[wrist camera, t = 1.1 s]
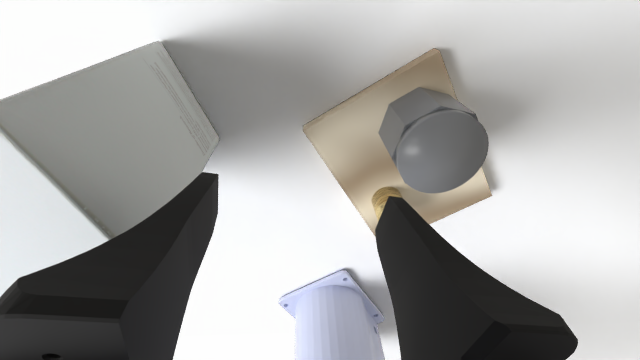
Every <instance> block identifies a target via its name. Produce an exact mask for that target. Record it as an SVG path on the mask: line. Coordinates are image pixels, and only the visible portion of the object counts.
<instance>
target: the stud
mask: <svg viewBox="0 0 640 360" xmlns="http://www.w3.org/2000/svg"><path fill="white" fill-rule="evenodd" d="M389 196H393V197H401V198H403V197H402V195H401V193H400V192H399V190H398V189H396V188H394V187H383V188H380V189H378V190H377V191H376V192H375V193H374V194H373V196H372V205H373V208H374V211H375V214H376V217H377V220H378V221H379V219H380V216H381V214H382V211H383V209H384V207H385V204H386V202H387V199H388V197H389Z"/></svg>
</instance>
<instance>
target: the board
mask: <svg viewBox="0 0 640 360" xmlns="http://www.w3.org/2000/svg"><path fill="white" fill-rule="evenodd" d="M418 87H422V88H426V89H430V90H434V91H438V92H442V93H445V94H449V95H450V96H452V97H453V98H454V99H456V100H457V97H456V95H455V92H454V89H453V86H452V84H451V81H450V78H449V75H448V73H447V70H446V67H445V64H444V61H443V59H442V56H441V53H440V51H439V50H437V49H434V48H433V49H432V50H430V51H428V52H427V53H425V54H423V55H421V56H420V57H418V58H416V59H415V60H413V61H411V62H410V63H408V64H406V65H405V66H403V67H401V68H400V69H398V70H396V71H395V72H393V73H391V74H390V75H388V76H386V77H384V78H383V79H381V80H379V81H378V82H376V83H374V84H373V85H371V86H369V87H368V88H366V89H364V90H363V91H361V92H359V93H358V94H356V95H354V96H353V97H351V98H349V99H347V100H346V101H344V102H342V103H341V104H339V105H337V106H336V107H334V108H332V109H331V110H329V111H327V112H326V113H324V114H322V115H321V116H319V117H317V118H316V119H314V120H312V121H310V122H309V123H307V124H305V125H304V126H303V132H304V133H305V135H306V136H307V138H308V139H309V140H310V142H311V143H312V145H313V146H314V148H315V149H316V151H317V152H318V154H319V155H320V157H321V158H322V159H323V161H324V162H325V164H326V165H327V167H328V168H329V170H330V171H331V173H332V174H333V175H334V177H335V178H336V180H337V181H338V183H339V184H340V186H341V187H342V189H343V190H344V192H345V193H346V194H347V196H348V197H349V199H350V200H351V202H352V203H353V205H354V206H355V208H356V209H357V210H358V212H359V213H360V215H361V216H362V218H363V219H364V221H365V222H366V224H367V225H368V227H369V228H370V229H371V231H372V232H373V234H374V235H375V237H376V234H375V229H376V226H377V224H378V220H377V217H376V214H375V211H374V208H373V205H372V196H373V194H374V193H375V192H376V191H377V190H378V189H380V188H383V187H394V188H396V189H398V190H399V192H400V193H401V195H402V197H403V199H404V200H405V201H406V202H407V203H408V204H409V205H410V206H411V207H412V208H413V209H414V210H415V211H416V212H417V213H418V214H419V215H420V216H421V217H422V218H423V219H424V220H425V221H426V222H427V223H428V224H431V223H433V222H435V221H438V220H440V219H442V218H444V217H446V216H449V215H451V214H453V213H455V212H457V211H460V210H462V209H464V208H466V207H468V206H471V205H473V204H475V203H477V202H479V201H482V200H484V199H486V198H488V197H490V196H492V194H491V191H490V188H489V186H488V183H487V180H486V177H485V175H484V172H483V169H482V166H481V168H480V169H479V170H478V172H477V173H476V174H475V175H474V176H473V177H472V178H471V179H470V180H468V181H467V182H466V183H464V184H463V185H461V186H459V187H457V188H455V189H453V190H450V191H447V192H442V193H424V192H420V191H417V190H415V189H413V188H411V187H410V186H409V185H407V184H405V182H404V180H403V179H402V177H401V175H400V173H399V171H398V169H397V167H396V166H395V164H394V162H393V160H392V158H391V156H390V154H389V153H388V151H387V149H386V147H385V145H384V143H383V141H382V139H381V137H380V135H379V134H378V132H379V129H380V127H381V124H382V121H383V119H384V116H385V113H386V111H387V108H388V105H389V104H390V103H391V102H393V101H395V100H397V99H398V98H400V97H402V96H404V95H405V94H407V93H409V92H411V91H412V90H414V89H416V88H418ZM457 101H458V100H457Z"/></svg>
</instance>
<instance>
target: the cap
mask: <svg viewBox="0 0 640 360" xmlns="http://www.w3.org/2000/svg"><path fill="white" fill-rule="evenodd" d="M378 134H379V135H380V137H381V139H382V141H383V143H384V145H385V147H386V149H387V151H388V153H389V154H390V156H391V158H392V160H393V162H394V164H395V166H396V167H397V169H398V171H399V173H400V175H401V177H402V179H403V180H404V182H405V184H407V185H409V186H410V187H411V188H413V189H415V190H417V191H420V192H424V193H442V192H447V191H450V190H453V189H455V188H457V187H459V186H461V185H463V184H464V183H466V182H467V181H468V180H470V179H471V178H472V177H473V176H474V175H475V174H476V173H477V172H478V170H479V169H480V168H481V166H482V164H483V162H484V161H485V158H486V155H487V152H488V137H487V133H486V131H485V129H484V127H483V126H482V125H481V124H480V123H479V122H478V120H477V117H476V114H475V113H473V112H472V111H471V110H469V109H468V108H467V107H465V106H464V105H463V104H461V103H460V102H458V101H457V100H456V99H454V98H453V97H452V96H450V95H449V94H445V93H442V92H438V91H434V90H430V89H426V88H422V87H418V88H416V89H414V90H412V91H411V92H409V93H407V94H405V95H404V96H402V97H400V98H398V99H397V100H395V101H393V102H391V103H390V104H389V105H388V108H387V111H386V113H385V116H384V119H383V121H382V124H381V127H380V129H379V132H378Z"/></svg>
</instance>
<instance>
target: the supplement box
mask: <svg viewBox="0 0 640 360" xmlns="http://www.w3.org/2000/svg"><path fill="white" fill-rule="evenodd" d="M219 140H220V139H219V137H218V135H217V133H216V132H215V130H214V128H213V127H212V125H211V123H210V122H209V120H208V118H207V117H206V115H205V113H204V112H203V110H202V108H201V107H200V105H199V103H198V102H197V100H196V98H195V97H194V95H193V93H192V92H191V90H190V88H189V87H188V85H187V83H186V82H185V80H184V79H183V77H182V75H181V73H180V72H179V70H178V69H177V67H176V65H175V64H174V62H173V60H172V59H171V57H170V55H169V54H168V52H167V51H166V49H165V48H164V46H163V45H162V43H161V42H159V41H157V42H153V43H151V44H148V45H145V46H142V47H140V48H137V49H134V50H132V51H129V52H127V53H124V54H121V55H119V56H116V57H113V58H111V59H108V60H105V61H103V62H100V63H98V64H95V65H92V66H90V67H87V68H84V69H82V70H79V71H76V72H74V73H71V74H68V75H66V76H63V77H60V78H58V79H55V80H52V81H50V82H47V83H44V84H41V85H39V86H36V87H33V88H30V89H28V90H25V91H22V92H20V93H17V94H14V95H12V96H9V97H6V98H3V99H1V100H0V297H1V296H2V294H3V293H4V292H5V291H6V290H7V289H8V288H9V287H10V286H11V285H12V284H13V283H14V282H15V281H16V280H17V279H18V278H19V277H22V276H25V275H28V274H31V273H34V272H36V271H39V270H42V269H44V268H47V267H50V266H52V265H55V264H58V263H60V262H63V261H65V260H68V259H70V258H72V257H75V256H77V255H79V254H82V253H84V252H86V251H88V250H91V249H93V248H95V247H97V246H99V245H101V244H103V243H105V242H107V241H109V240H111V239H112V238H114V237H116V236H118V235H120V234H122V233H124V232H126V231H127V230H129V229H131V228H132V227H134V226H135V225H137V224H139V223H140V222H142V221H143V220H145V219H146V218H148V217H149V216H150V215H152V214H153V213H155V212H156V211H157V210H159V209H160V208H161V207H163V206H164V205H165V204H166V203H168V202H169V201H170V200H171V199H173V198H174V197H175V196H176V195H177V194H178V193H180V192H181V191H182V190H183V189H184V188H185V187H186V186H188V185H189V184H190V183H191V182H192V181H193V180H194V179H195V178H196V177H197V176H198V175H199V174H201V173H202V171H203V169H204V167H205V165H206V164H207V162H208V160H209V158H210V156H211V155H212V153H213V151H214V149H215V147H216V145H217V143H218V142H219Z"/></svg>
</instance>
